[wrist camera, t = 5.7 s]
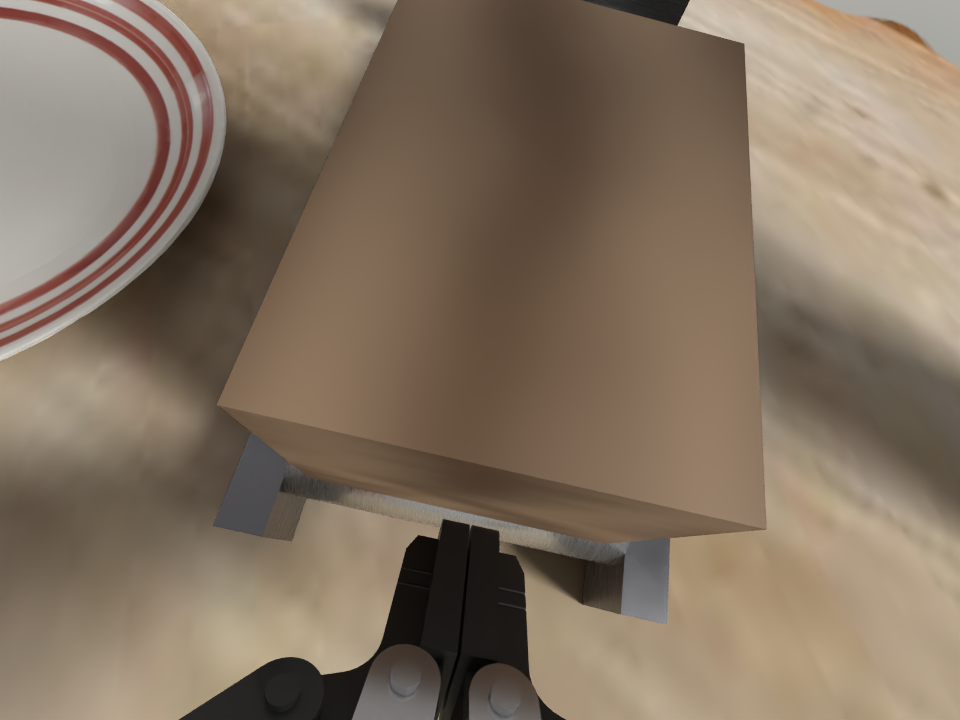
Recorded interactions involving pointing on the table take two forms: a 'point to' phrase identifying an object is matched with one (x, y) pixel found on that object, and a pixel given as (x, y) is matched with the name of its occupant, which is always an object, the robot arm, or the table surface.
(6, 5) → the dinner plate
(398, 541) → the table surface
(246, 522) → the roller bed
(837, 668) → the table surface
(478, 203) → the brown cardboard box
